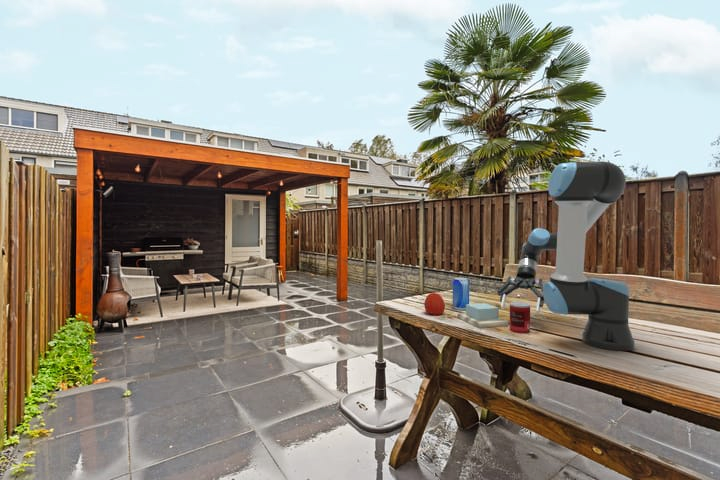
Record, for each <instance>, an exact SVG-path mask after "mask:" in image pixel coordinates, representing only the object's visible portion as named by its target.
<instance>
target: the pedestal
mask: <svg viewBox="0 0 720 480" xmlns="http://www.w3.org/2000/svg"><path fill="white" fill-rule="evenodd" d="M499 310H500V309H499V307H498V306H494V305H491V304H489V303H469V304H466V310H465V313H466V315H467V316H469V317H471V318H473V319H476V320H478V321H481V320H494V319H499V318H500V317H499V315H500V314H499Z"/></svg>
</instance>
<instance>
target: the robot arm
mask: <svg viewBox="0 0 720 480" xmlns="http://www.w3.org/2000/svg"><path fill="white" fill-rule="evenodd" d="M626 184H627V181H626V176H625V173H624V170H623V169H621V168H620V166H618V165H617V164H615V163H613V162H609V161H571V162H564V163H563V162H562V163H559V164H557V165H556V166H555V167H554V168H553V170H552V172H551V173H550V176H549V178H548V183H547V191H548V193H549V195H550V197H552V198H554V203H555V204H556V205H557V206H558V216H557V218H558V219H557V232H549V231H548V230H547V229H544V228H541V227H537V228H534V229H533V230H532V231H531V232H530V234H529V236H528V238H527V240H526V242H524V243H523V245H522V248H521V253H520V259H519V263H518V266H517V272H516V276H515V277H514V278H513V277H511V276H508V277H507V280H506V281H505V282H504V283H503V284H502V285H501V286H500V287H499V288H498V290H496V293H497V295H498V296H500V298H499V300H500V301H499V302H500V308H501V310H502V311H504V310H505V306H506V301H507V296H509V295H510V294H511V293H512V292H515V290H518V289H521V290H522V289H525V290H528V289H530V291H531V292H533V294H535V295H536V297H537V303H536V310H535V311H536V315H538V316H539V315H540V311H541V308H543V307H544V303H545V305H546V307H547V309H548V310H549V311H550V312H551V313H553V314H556V315H564V316H568V315H577V316H578V315H579V316H580V315H583V316H584V315H586V316H587V315H588V316H587V317H588V319H587V322H586V325H585V326H584V327H585V328H584V330H583V332H582V337H581V338H582V342H584V343H586V344H587V345H589V346H591V347H596V348H600V349H604V350H608V351H609V350H610V351H620V352H621V351H622V352H623V351H625V352H627V351H633V350H634V349H635V340H634V338H633V335H632V332H631V327H630V325H629V315H630V314H629V308H630V307H629V304H630V297H631V296H630V290H629V286H628V285H627V283H624V282H622V281H616V280H611V279H605V278H596V277H589V278H587V276H585V274H584V267H585V253H586V252H585V251H586V240H587V239H586V238H587V232H588V231H589V230H590V229H591V228H592V227H593V226H594V224H595V223H596V221H597V220H598V219H599V218H600V217H601V215H602V214H603V213H605V211H606V210H607V208H608V207H609V206H610V205H612V204H614V203H616V202H617V201H618V200H619V199H620V198H621V197H622V195H623V193H624V191H625V189H626ZM543 251H556V254H555V271H554V272H553V273H552V274H550V277H549V281H545V282H544V283H543V279H542V278H539V279H538V280H537V279H536V275H537V270H538V262H539V260H540V259H539V257H540V256H541V254H542V253H543ZM511 284H512V285H511ZM536 284H537V285H538V287H539V289H540V291H541V292H542V293H541V292H540V291H539V289H537V288H536V286H535V285H536Z"/></svg>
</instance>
